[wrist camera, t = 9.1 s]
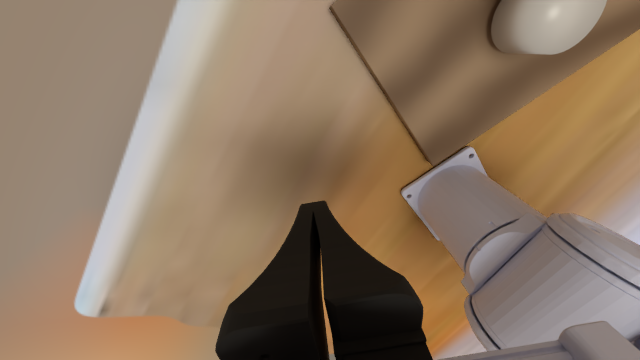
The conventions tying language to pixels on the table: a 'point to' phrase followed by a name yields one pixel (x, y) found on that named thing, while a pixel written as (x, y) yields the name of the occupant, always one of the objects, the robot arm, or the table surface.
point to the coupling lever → (543, 24)
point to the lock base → (461, 63)
